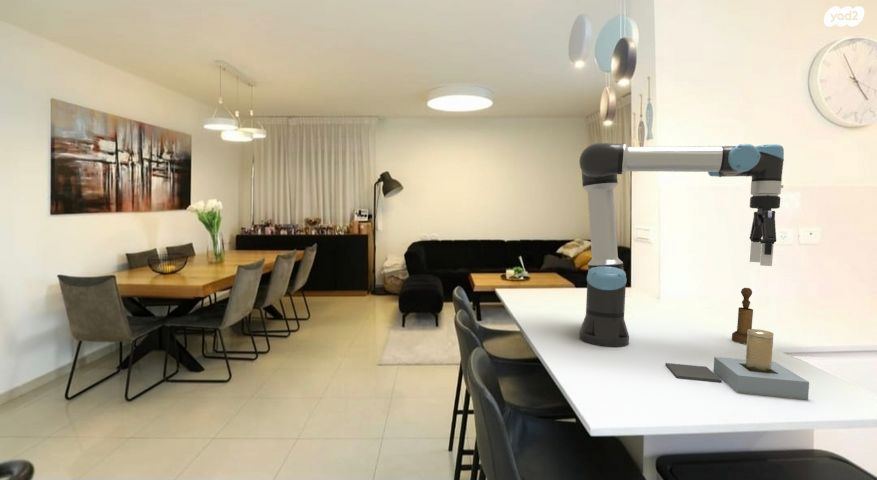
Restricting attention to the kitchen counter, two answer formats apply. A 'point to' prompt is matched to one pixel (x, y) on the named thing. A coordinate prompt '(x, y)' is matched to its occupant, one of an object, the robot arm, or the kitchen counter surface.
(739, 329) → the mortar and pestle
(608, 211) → the robot arm
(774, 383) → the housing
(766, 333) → the tan cylinder
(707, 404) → the kitchen counter surface
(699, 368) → the rubber pad
